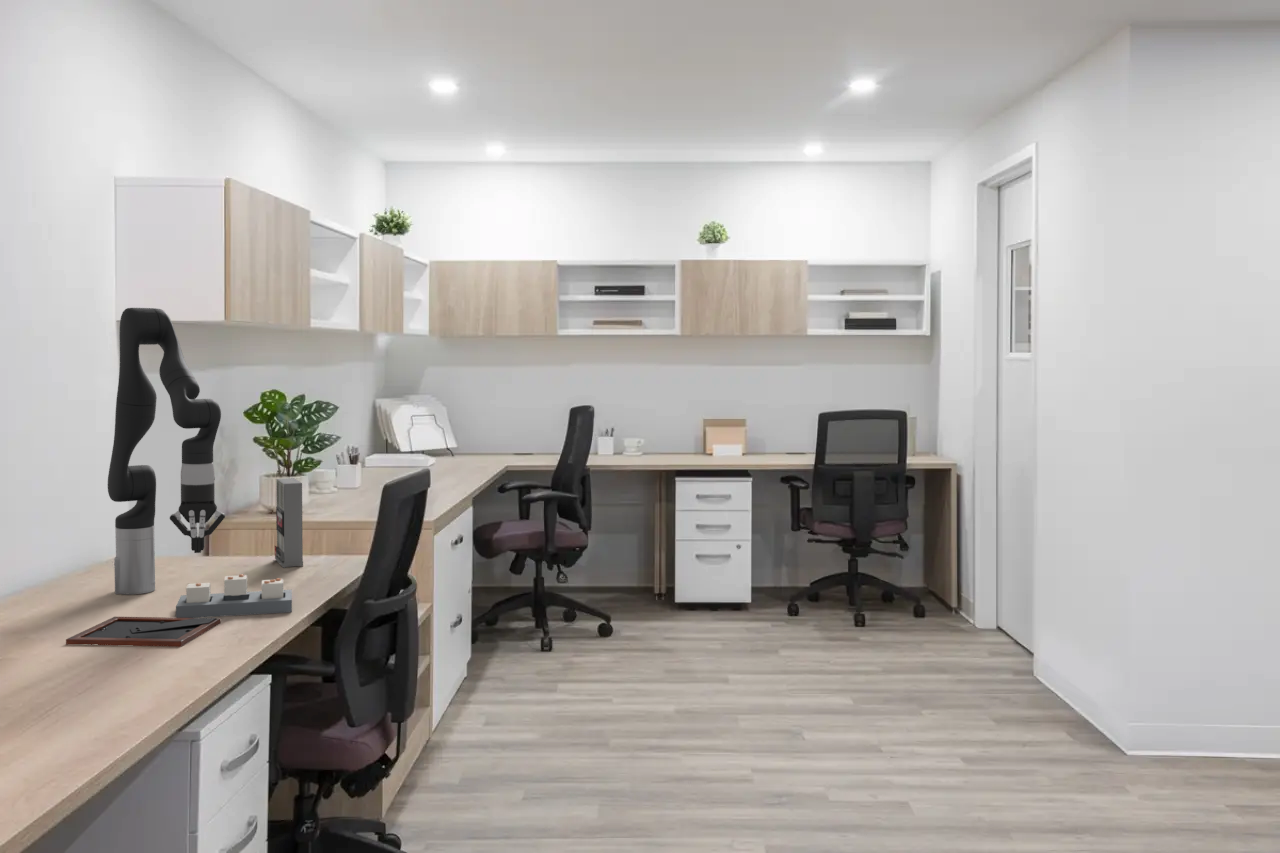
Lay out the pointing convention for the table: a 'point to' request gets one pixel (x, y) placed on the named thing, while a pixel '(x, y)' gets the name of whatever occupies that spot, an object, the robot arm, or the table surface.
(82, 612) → the table surface
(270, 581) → the tile three
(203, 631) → the picture frame
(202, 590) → the tile one
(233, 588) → the tile two
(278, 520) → the tall grey labeled box
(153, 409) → the robot arm
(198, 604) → the board
